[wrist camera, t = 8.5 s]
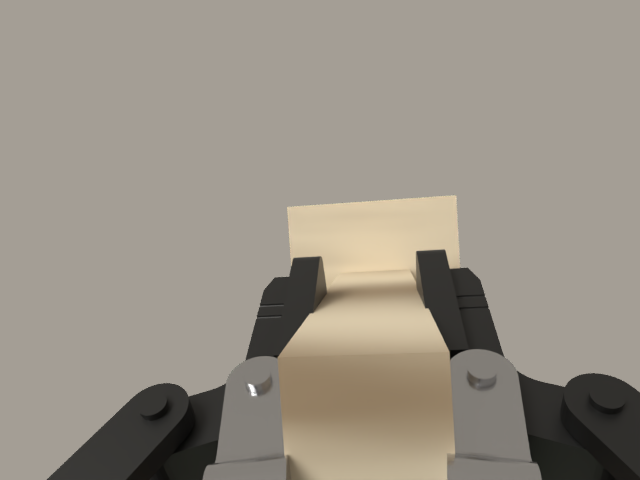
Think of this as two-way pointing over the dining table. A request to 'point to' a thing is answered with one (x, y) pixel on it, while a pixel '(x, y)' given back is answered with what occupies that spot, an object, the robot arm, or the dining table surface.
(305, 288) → the robot arm
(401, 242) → the peg
